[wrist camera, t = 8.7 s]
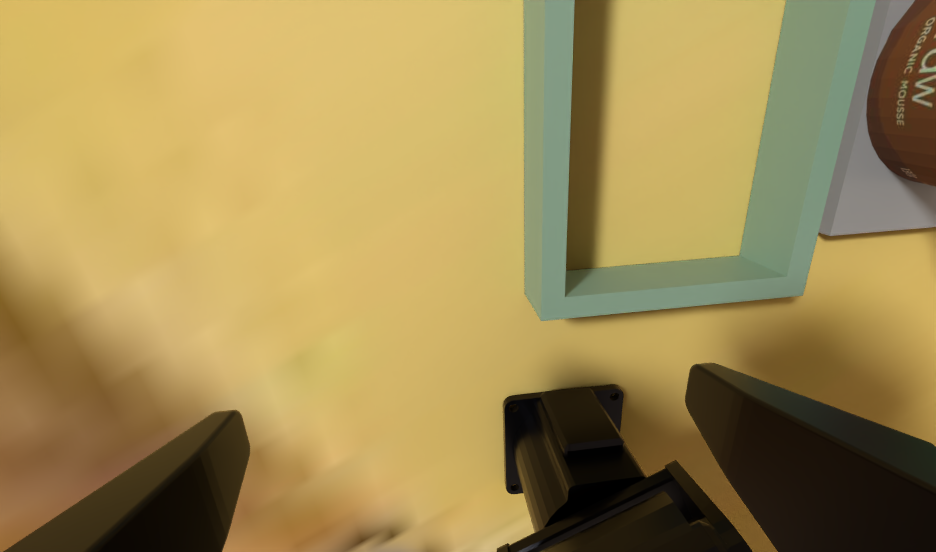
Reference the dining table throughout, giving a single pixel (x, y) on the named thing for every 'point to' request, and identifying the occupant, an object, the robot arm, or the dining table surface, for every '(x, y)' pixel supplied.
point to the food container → (906, 96)
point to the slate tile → (873, 158)
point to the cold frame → (774, 185)
